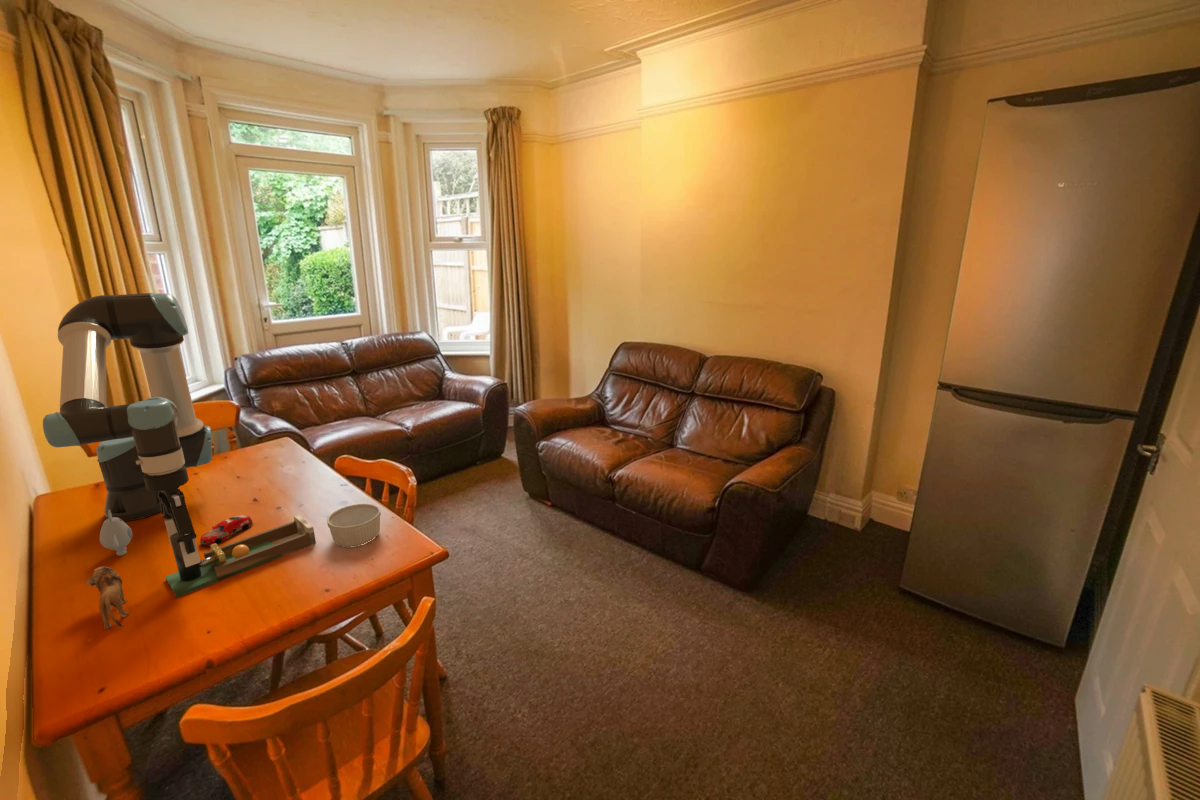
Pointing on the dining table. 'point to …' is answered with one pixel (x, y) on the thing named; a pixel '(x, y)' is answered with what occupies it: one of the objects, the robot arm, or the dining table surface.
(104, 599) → the lion figurine
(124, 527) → the toy figure
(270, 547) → the lane
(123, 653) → the dining table surface
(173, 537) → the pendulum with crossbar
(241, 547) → the ball
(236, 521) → the race car
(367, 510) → the ramekin
